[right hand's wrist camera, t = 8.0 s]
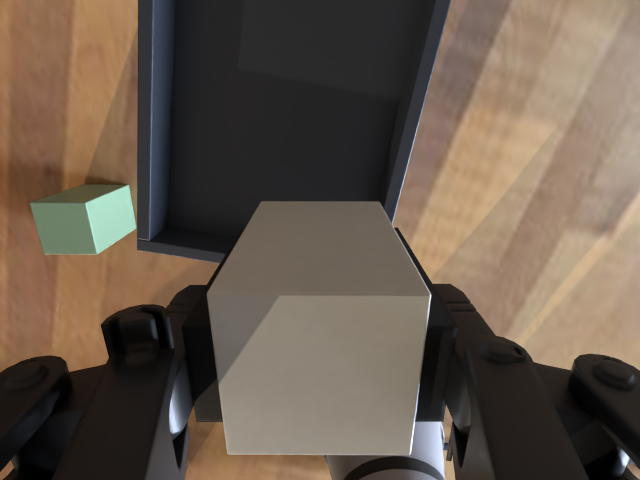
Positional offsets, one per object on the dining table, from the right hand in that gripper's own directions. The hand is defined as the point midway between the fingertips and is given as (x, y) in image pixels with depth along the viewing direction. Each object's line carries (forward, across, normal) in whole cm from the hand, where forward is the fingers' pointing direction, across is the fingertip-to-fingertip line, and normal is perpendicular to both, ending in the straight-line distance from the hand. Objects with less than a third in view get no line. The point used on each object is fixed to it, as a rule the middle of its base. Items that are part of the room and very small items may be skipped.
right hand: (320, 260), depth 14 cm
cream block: (0, 0, 0) cm, 0 cm away
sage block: (+22, +21, +4) cm, 31 cm away
